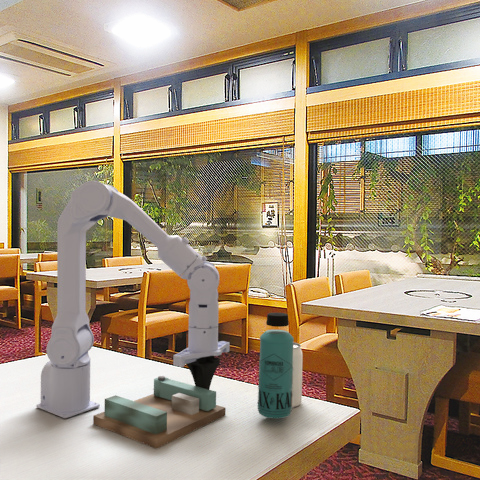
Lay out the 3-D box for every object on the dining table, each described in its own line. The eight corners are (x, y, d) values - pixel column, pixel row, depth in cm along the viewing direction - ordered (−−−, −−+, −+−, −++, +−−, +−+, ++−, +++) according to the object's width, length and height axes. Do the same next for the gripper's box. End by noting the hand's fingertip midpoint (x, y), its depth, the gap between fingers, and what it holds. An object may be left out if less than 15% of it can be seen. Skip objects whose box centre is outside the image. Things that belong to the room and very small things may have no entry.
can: (300, 410, 98) (301, 349, 97) (267, 407, 99) (268, 347, 99) (302, 399, 104) (304, 342, 104) (272, 396, 105) (273, 340, 105)
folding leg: (150, 394, 100) (150, 377, 100) (161, 390, 102) (161, 373, 102) (206, 411, 91) (206, 392, 91) (216, 407, 94) (217, 388, 94)
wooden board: (93, 423, 89) (93, 399, 89) (164, 397, 104) (164, 375, 104) (156, 448, 80) (157, 421, 80) (225, 415, 94) (225, 391, 94)
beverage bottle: (255, 413, 96) (257, 310, 95) (289, 413, 96) (291, 310, 96) (259, 427, 89) (261, 316, 88) (295, 426, 90) (298, 316, 89)
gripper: (194, 335, 88) (193, 411, 88) (242, 322, 100) (240, 390, 100) (165, 329, 92) (164, 402, 92) (214, 318, 104) (213, 383, 104)
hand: (202, 395), depth 96 cm, fingers closed
